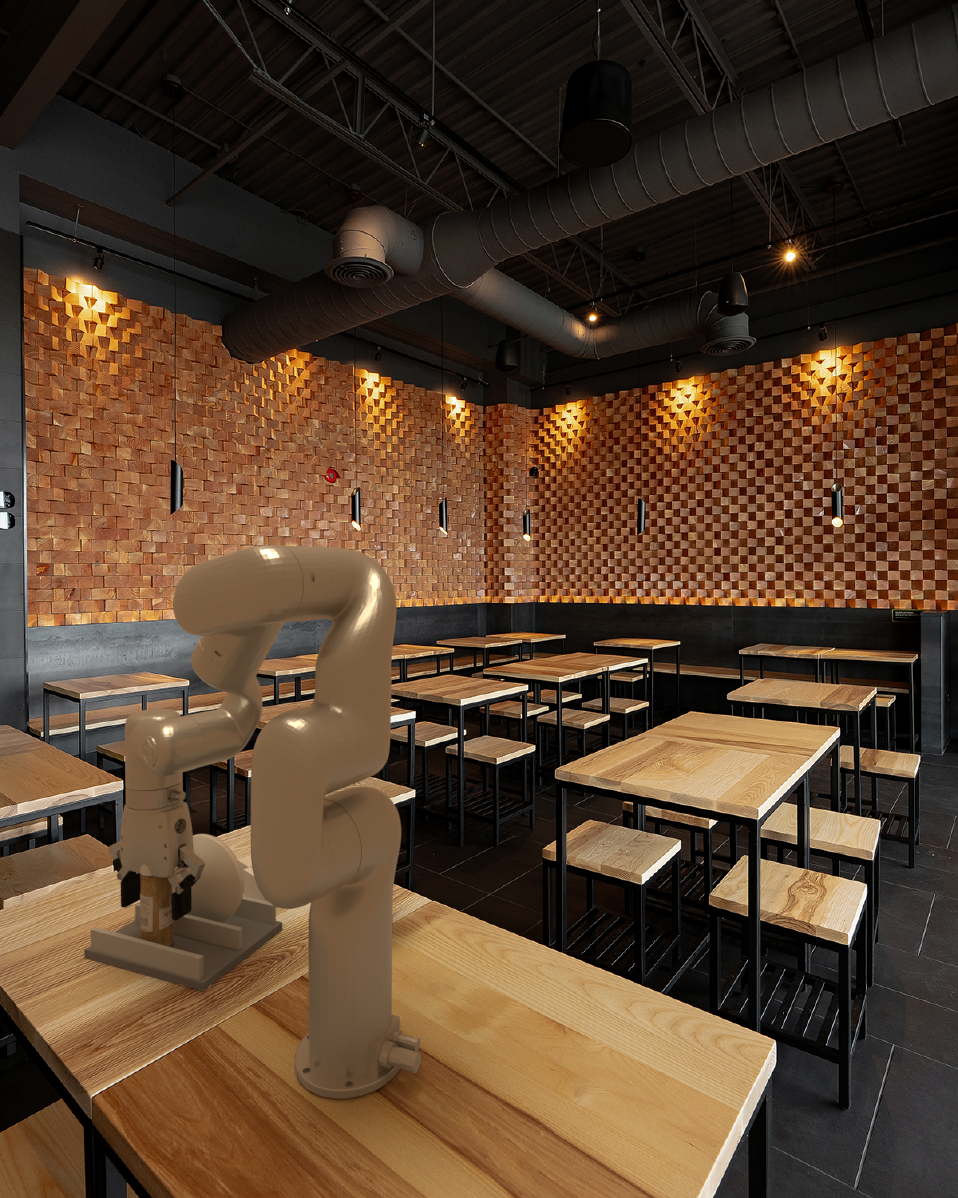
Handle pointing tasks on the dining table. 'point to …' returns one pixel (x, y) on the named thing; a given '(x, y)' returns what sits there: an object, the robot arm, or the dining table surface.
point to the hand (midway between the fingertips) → (156, 909)
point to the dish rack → (196, 927)
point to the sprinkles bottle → (155, 908)
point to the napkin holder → (249, 879)
